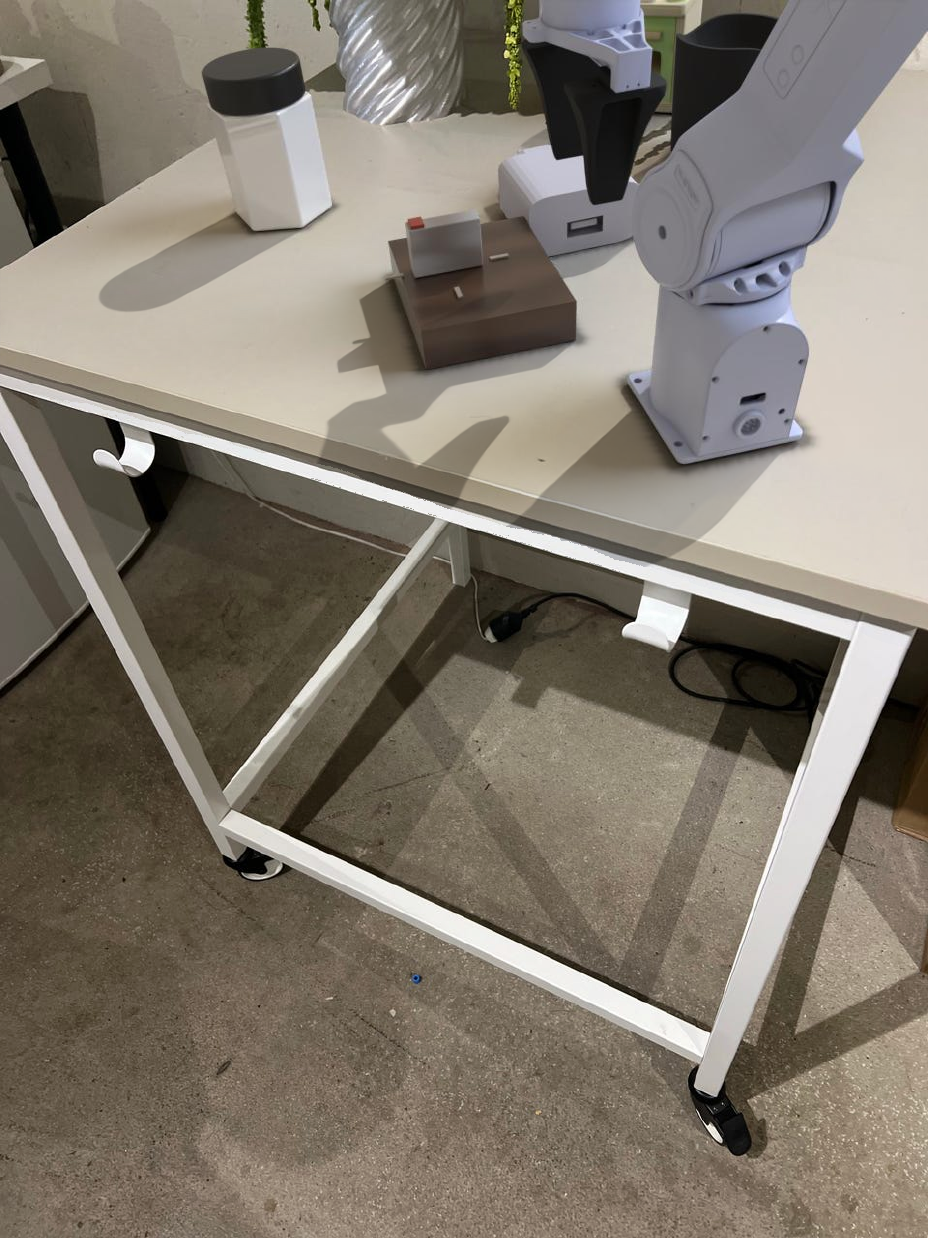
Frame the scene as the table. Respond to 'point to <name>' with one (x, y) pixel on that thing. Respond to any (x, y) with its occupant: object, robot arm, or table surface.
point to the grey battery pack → (444, 243)
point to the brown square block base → (487, 299)
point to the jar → (267, 137)
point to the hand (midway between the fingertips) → (586, 177)
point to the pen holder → (714, 65)
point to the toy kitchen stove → (668, 36)
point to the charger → (561, 202)
